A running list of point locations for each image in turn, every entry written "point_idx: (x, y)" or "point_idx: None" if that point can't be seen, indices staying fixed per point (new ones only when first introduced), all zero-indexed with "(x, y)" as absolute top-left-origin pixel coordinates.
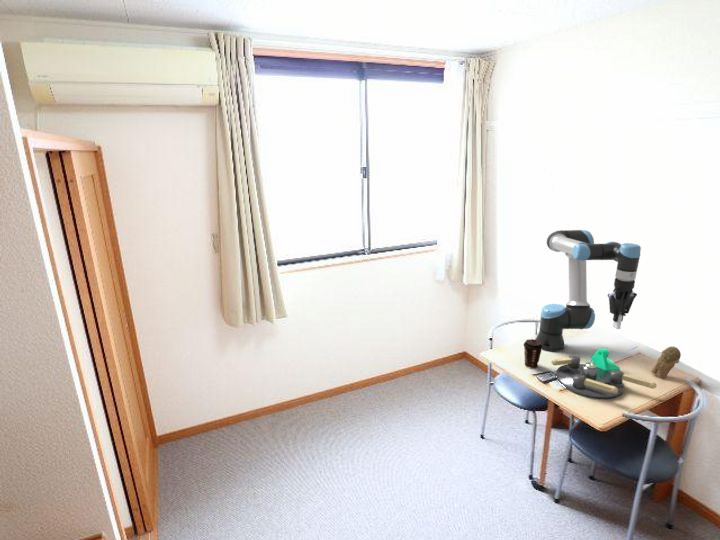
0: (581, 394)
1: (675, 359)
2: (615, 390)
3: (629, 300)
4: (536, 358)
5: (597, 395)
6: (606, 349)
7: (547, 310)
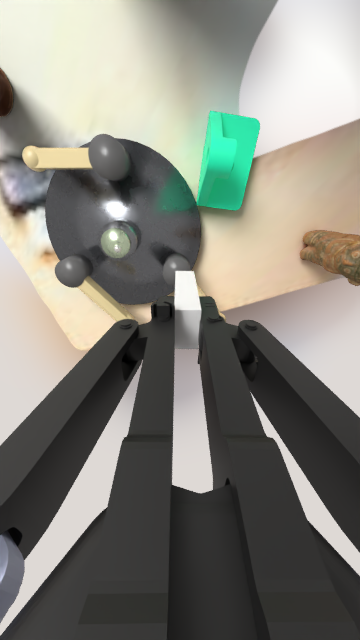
0: None
1: (355, 281)
2: None
3: (312, 462)
4: None
5: None
6: (230, 159)
7: None
